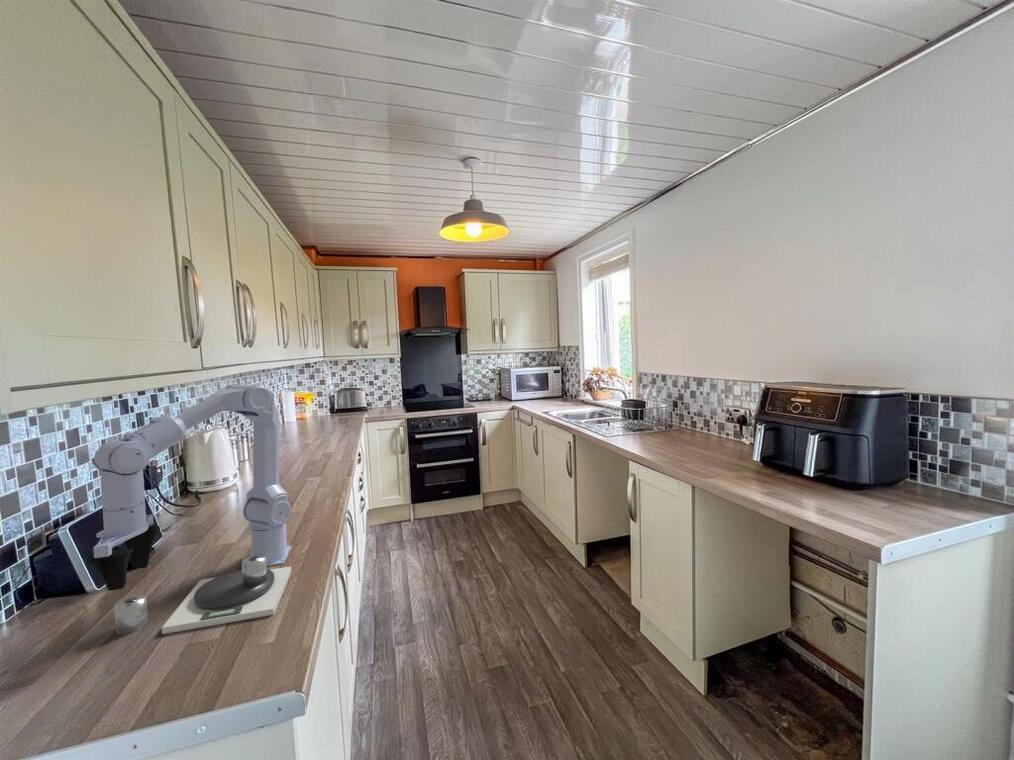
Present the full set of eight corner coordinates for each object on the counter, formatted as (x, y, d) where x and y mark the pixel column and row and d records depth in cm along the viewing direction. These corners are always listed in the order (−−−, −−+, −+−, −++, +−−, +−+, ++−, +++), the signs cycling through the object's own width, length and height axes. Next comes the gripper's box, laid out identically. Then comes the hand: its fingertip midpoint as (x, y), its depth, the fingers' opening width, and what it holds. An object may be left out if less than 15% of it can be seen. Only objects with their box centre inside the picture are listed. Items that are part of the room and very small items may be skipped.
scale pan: (210, 577, 91) (209, 573, 91) (281, 566, 95) (280, 563, 95) (181, 615, 77) (180, 610, 77) (265, 601, 81) (265, 597, 81)
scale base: (200, 584, 91) (200, 577, 90) (291, 571, 96) (291, 564, 96) (162, 634, 74) (161, 625, 74) (273, 614, 80) (273, 606, 80)
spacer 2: (245, 578, 88) (244, 555, 88) (268, 574, 90) (267, 552, 90) (240, 589, 84) (239, 565, 84) (264, 585, 86) (263, 561, 85)
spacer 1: (124, 621, 78) (122, 595, 78) (152, 617, 79) (151, 591, 79) (110, 636, 74) (108, 609, 74) (140, 631, 75) (138, 604, 75)
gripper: (121, 495, 81) (125, 562, 82) (68, 523, 67) (74, 604, 68) (164, 491, 83) (167, 557, 84) (121, 518, 69) (126, 596, 70)
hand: (129, 577), depth 76 cm, fingers open, 7 cm apart
